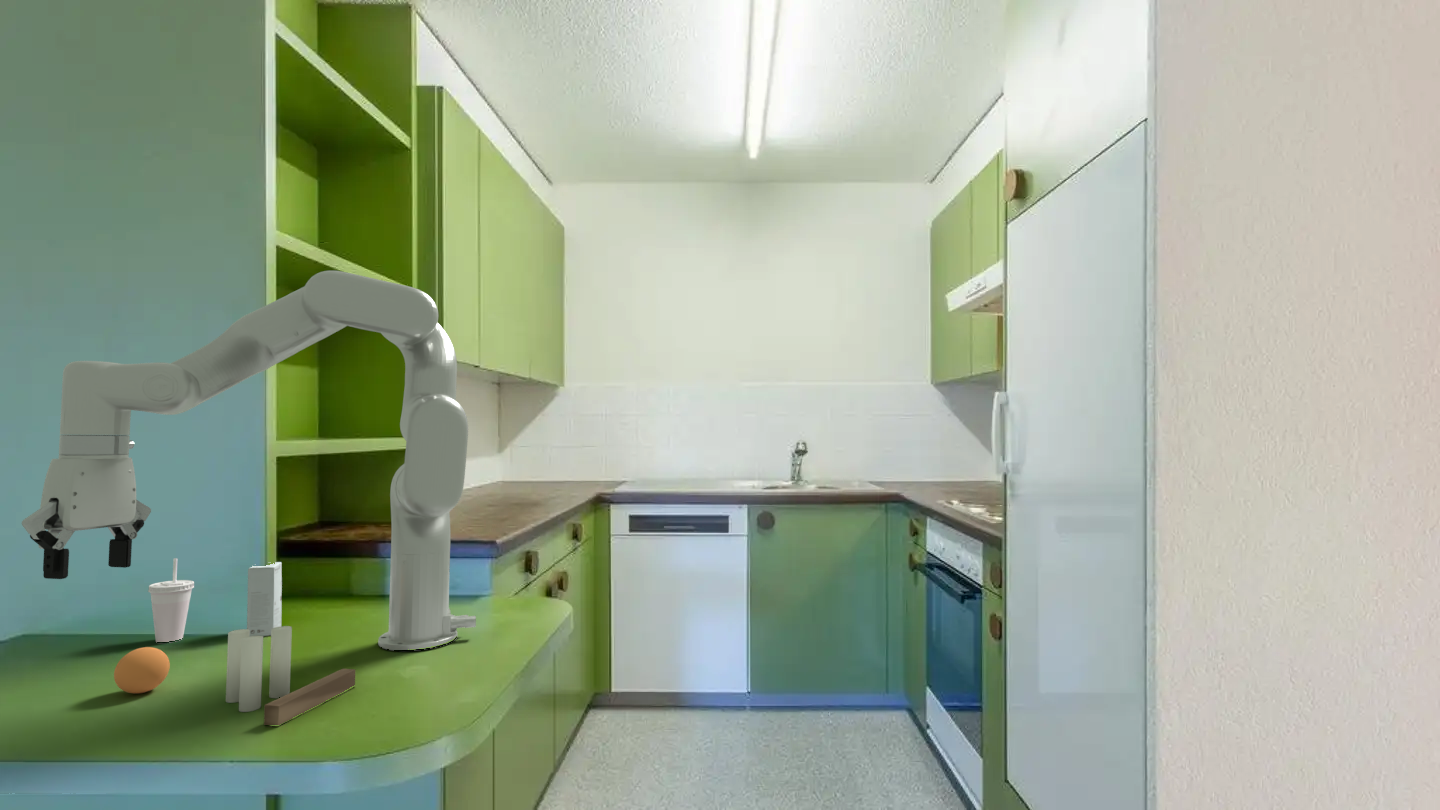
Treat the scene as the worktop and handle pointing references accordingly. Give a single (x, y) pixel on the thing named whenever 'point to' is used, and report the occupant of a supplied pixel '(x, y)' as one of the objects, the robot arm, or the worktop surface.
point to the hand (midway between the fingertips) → (88, 571)
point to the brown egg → (141, 670)
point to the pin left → (250, 673)
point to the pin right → (280, 661)
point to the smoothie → (170, 606)
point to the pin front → (234, 664)
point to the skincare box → (264, 599)
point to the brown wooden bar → (308, 697)
